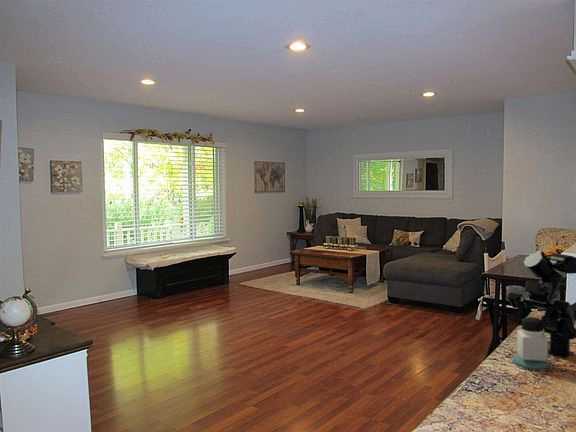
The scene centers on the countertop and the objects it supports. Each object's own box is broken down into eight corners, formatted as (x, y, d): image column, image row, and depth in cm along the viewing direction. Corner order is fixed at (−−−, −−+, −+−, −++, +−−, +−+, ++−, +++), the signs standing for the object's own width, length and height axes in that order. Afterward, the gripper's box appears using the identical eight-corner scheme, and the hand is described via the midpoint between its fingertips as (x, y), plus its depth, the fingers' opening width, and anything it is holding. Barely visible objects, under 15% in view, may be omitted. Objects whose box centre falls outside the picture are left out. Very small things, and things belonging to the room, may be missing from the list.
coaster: (522, 355, 158) (522, 352, 158) (554, 364, 150) (554, 361, 150) (506, 362, 152) (506, 359, 152) (538, 372, 144) (538, 369, 144)
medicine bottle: (548, 361, 147) (548, 322, 146) (522, 360, 148) (523, 321, 148) (540, 353, 154) (541, 315, 153) (516, 352, 155) (517, 315, 155)
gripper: (510, 267, 159) (490, 306, 153) (570, 275, 144) (552, 319, 138) (522, 287, 164) (504, 326, 158) (581, 297, 149) (564, 340, 143)
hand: (529, 327), depth 149 cm, fingers closed on medicine bottle, 6 cm apart
